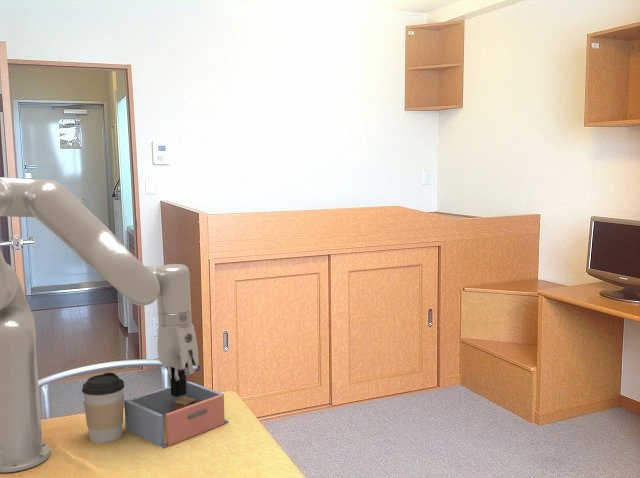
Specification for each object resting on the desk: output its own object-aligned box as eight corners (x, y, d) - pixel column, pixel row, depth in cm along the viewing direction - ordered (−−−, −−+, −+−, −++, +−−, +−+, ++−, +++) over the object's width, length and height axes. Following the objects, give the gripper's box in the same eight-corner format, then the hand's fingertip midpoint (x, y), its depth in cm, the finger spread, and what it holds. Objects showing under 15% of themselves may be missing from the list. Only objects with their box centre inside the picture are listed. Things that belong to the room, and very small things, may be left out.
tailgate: (170, 446, 138) (168, 415, 138) (166, 444, 139) (165, 414, 139) (225, 424, 150) (224, 395, 149) (221, 422, 151) (220, 394, 150)
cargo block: (185, 420, 153) (185, 404, 153) (173, 417, 155) (172, 401, 155) (197, 415, 156) (196, 399, 156) (185, 411, 158) (184, 396, 158)
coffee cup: (114, 451, 139) (110, 385, 137) (76, 448, 141) (73, 382, 139) (134, 434, 148) (131, 371, 146) (98, 431, 150) (95, 369, 148)
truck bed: (164, 453, 138) (163, 418, 137) (125, 433, 148) (124, 400, 147) (228, 427, 151) (227, 395, 150) (188, 411, 161) (187, 380, 161)
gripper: (208, 319, 144) (211, 397, 146) (169, 310, 154) (173, 383, 156) (181, 326, 139) (185, 407, 141) (142, 316, 148) (146, 392, 151)
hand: (178, 394), depth 149 cm, fingers closed
